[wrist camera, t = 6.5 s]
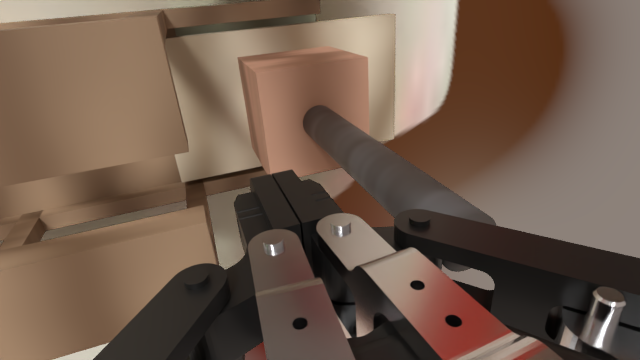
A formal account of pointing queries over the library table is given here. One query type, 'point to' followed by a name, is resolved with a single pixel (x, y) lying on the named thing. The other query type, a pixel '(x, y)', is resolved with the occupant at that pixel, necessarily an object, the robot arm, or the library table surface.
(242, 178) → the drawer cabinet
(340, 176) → the library table surface
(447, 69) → the library table surface
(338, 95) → the cube with grey rod
